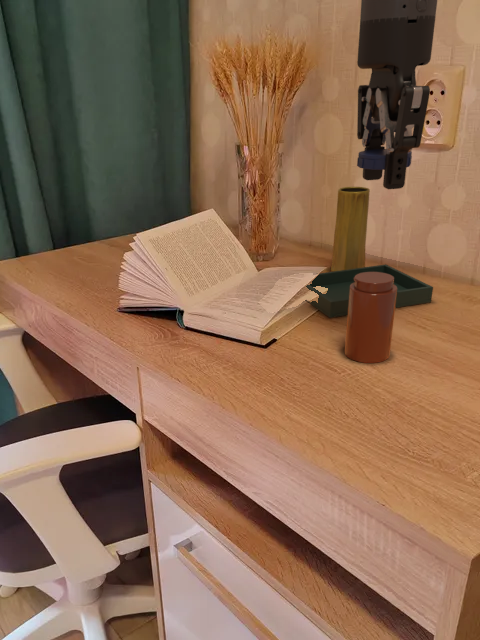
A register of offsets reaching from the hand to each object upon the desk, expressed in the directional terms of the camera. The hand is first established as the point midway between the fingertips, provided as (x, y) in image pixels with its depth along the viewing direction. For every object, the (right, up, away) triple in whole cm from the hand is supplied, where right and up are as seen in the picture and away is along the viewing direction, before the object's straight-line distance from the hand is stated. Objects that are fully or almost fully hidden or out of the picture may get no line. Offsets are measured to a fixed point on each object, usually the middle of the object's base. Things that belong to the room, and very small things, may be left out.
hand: (382, 183), depth 70 cm
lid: (0, +3, -1) cm, 3 cm away
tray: (+5, -10, +26) cm, 28 cm away
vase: (+6, -3, +38) cm, 39 cm away
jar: (0, -20, +7) cm, 21 cm away
